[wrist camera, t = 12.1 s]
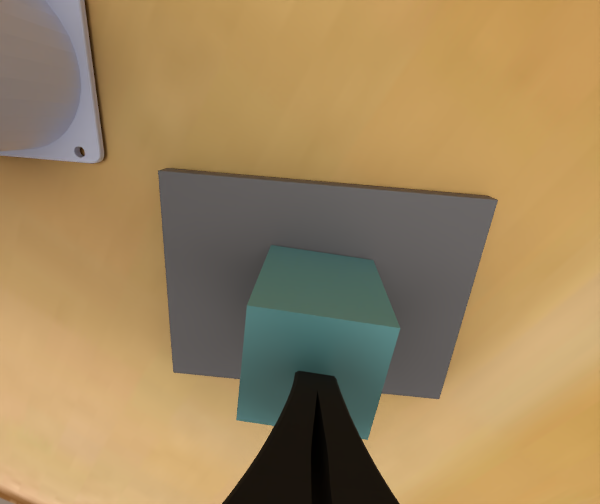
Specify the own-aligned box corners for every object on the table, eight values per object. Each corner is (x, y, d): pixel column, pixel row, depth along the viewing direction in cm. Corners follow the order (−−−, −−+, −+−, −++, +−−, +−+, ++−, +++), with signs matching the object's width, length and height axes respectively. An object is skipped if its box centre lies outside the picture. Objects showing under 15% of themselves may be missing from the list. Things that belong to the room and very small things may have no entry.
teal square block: (261, 331, 19) (236, 419, 13) (271, 244, 17) (246, 305, 11) (353, 345, 19) (367, 439, 13) (373, 260, 17) (400, 328, 11)
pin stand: (179, 361, 21) (123, 457, 15) (167, 167, 17) (80, 192, 11) (433, 386, 21) (481, 495, 15) (487, 195, 16) (586, 237, 10)
